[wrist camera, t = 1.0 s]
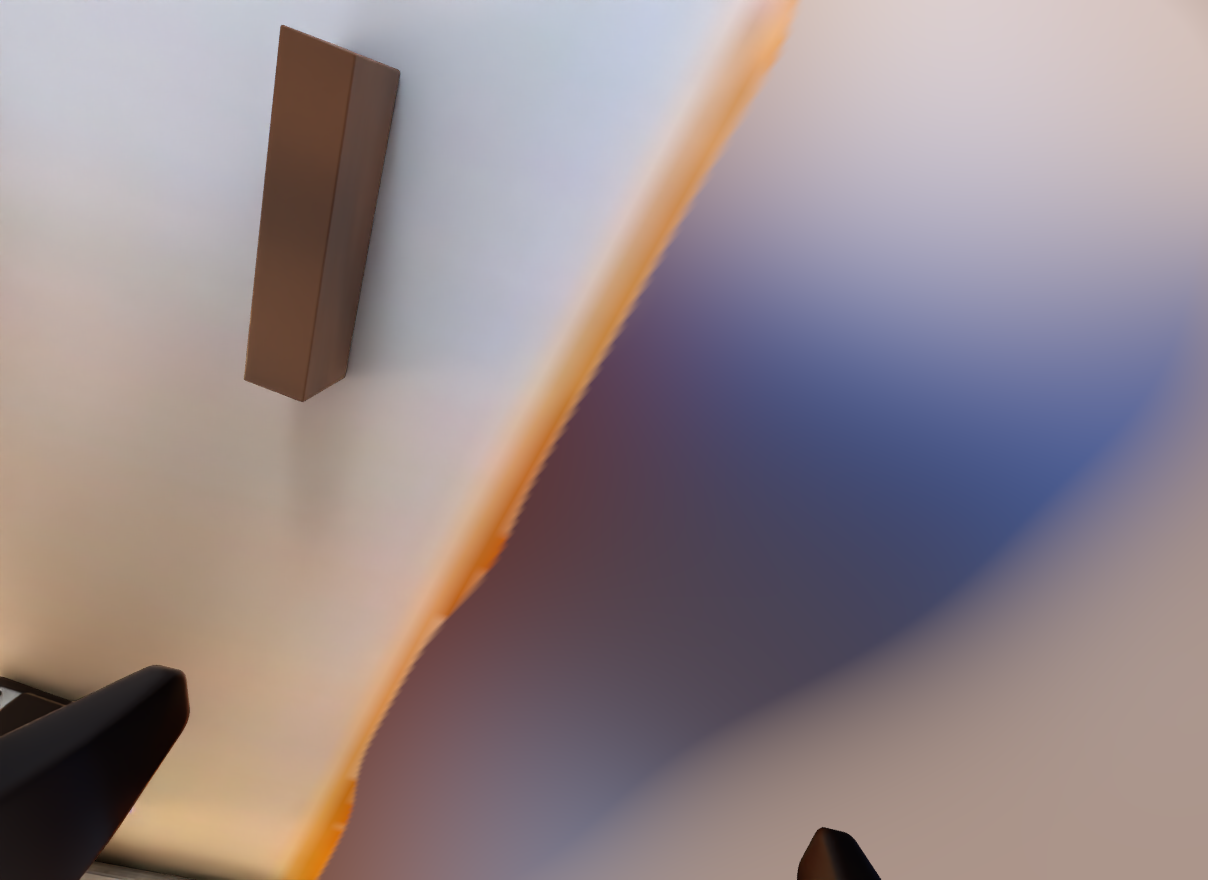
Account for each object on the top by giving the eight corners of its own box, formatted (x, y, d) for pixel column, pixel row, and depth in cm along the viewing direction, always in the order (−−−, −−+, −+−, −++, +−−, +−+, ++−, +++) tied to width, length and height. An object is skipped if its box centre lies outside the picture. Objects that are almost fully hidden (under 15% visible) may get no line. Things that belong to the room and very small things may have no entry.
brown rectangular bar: (345, 377, 20) (303, 402, 17) (292, 357, 19) (242, 380, 17) (401, 71, 16) (356, 54, 14) (336, 44, 16) (279, 23, 14)
